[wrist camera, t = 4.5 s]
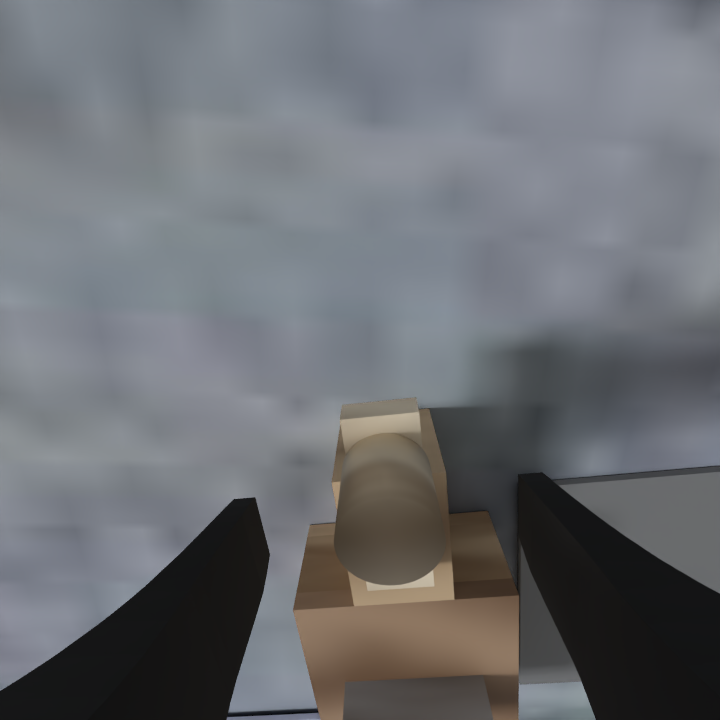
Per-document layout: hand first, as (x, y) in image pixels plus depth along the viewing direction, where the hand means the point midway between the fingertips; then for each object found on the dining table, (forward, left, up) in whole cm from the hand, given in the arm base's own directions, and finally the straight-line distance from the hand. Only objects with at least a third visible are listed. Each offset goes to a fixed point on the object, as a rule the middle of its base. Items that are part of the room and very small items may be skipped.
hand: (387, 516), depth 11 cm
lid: (-12, 0, -4) cm, 13 cm away
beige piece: (-1, 0, -3) cm, 3 cm away
